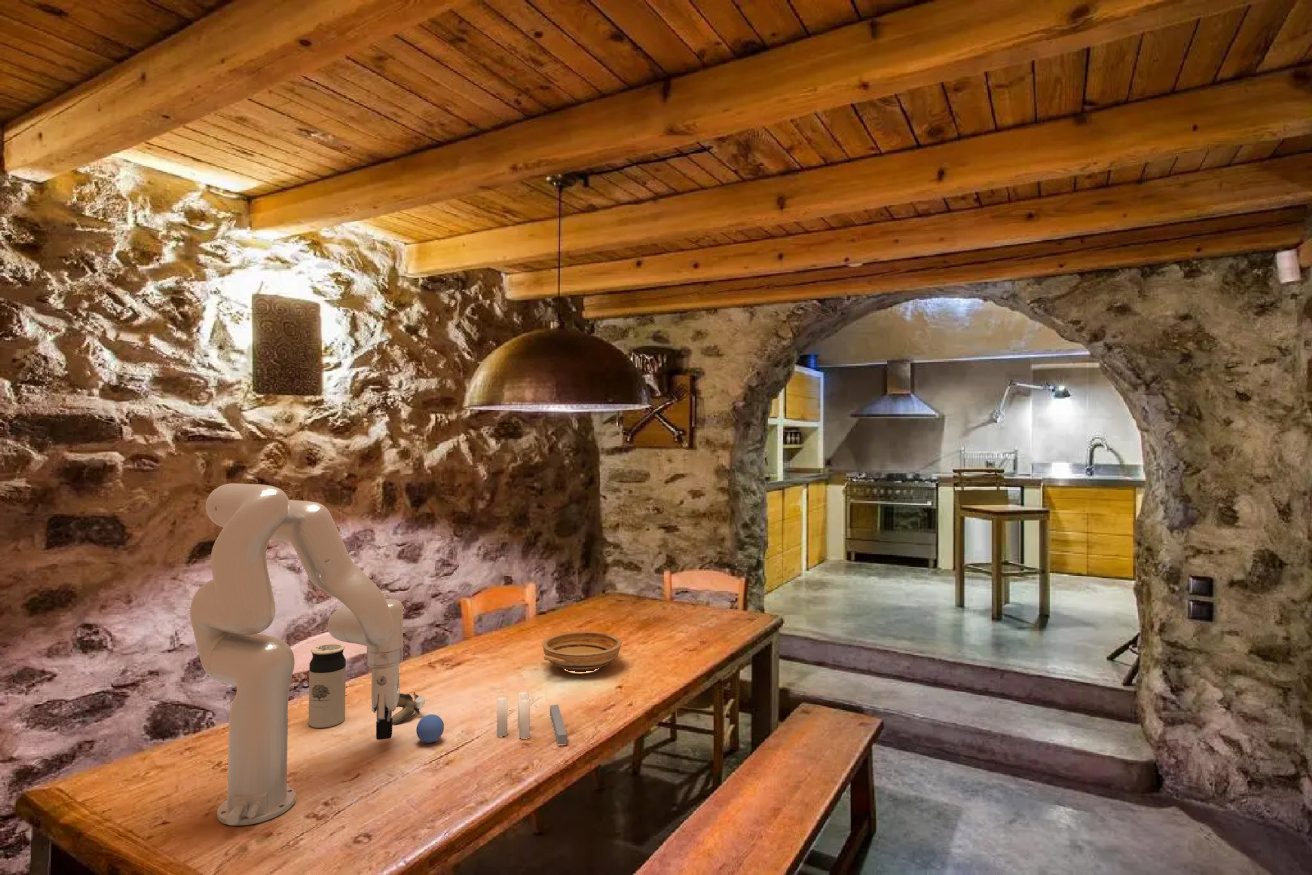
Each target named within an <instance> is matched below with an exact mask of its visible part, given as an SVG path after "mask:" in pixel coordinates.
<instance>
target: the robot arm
mask: <svg viewBox="0 0 1312 875" xmlns="http://www.w3.org/2000/svg"><path fill="white" fill-rule="evenodd" d="M205 511H206V515H207V517H208V518H209V519H210V521H212V523H214V524H215V525H216V526H219V527H220V528H222V530H221V531H220V532H219V534H218V536H217V538H216V539H215V542H214V543H213V546H212V548H211V554H210V566H211V573H212V579H210V580H209V581H207V582H205V583H203V584H202V585H200V587H199V588H198V589H197V590H196V592H195V593H194V595H193V598H192V599H191V603H190V608H189V615H190V622H191V623H190V624H191V627H192V631H193V635H194V639H195V644H196V648H197V651H198V656H199V661H200V664H201V666H202V668H203V670H204V672H205V673H206V674H207V675H208V676H209V677H210V678H211V679H213V680H215V681H217V682H220V683H225V684H228V685H231V686H233V687H236V692H235V696H234V699H233V701H232V703H231V705H230V709H229V713H228V714H229V715H228V753H227V754H228V756H227V757H228V758H227V761H228V762H227V763H228V764H227V798H226V799H225V800H224V801H223V802H222V803H221V804H219V806H218V808H217V811H216V812H217V813H216V815H217V816H216V818H217V819H218V821H219V822H220V823H222V824H224V825H229V826H238V827H239V826H248V825H249V826H250V825H254V824H255V825H256V824H259V823H263V822H267V821H269V820H271V819H275V818H276V817H279V816H280V815H283V813H286V812H287V811H288V810H290V809H291V808H292V806H293V805H294V804H295V802H296V800H297V792H296V790H295V789H294V788H293V787H290V786H288V742H289V740H288V738H289V737H288V736H289V735H288V732H289V730H288V729H289V699H290V697H289V696H290V690H291V689H290V687H291V682H292V678H293V674H294V669H295V655H294V652H293V650H292V648H291V647H290V645H289V644H288V643H287V642H286V641H283V640H281V639H279V638H277V637H274V636H269V635H266V634H265V635H264V634H261V633H262V632H263V631H266V630H267V629H268V628H269V627H270V626H271V625H272V623H273V621H274V620H275V616H276V602H275V598H274V592H273V588H272V584H271V582H272V581H271V579H270V575H269V569H268V563H267V548H268V545H269V543H270V540H272V541H279V542H287V543H288V542H289V543H290V544H291V545H292V547H293V549H294V550H295V552H296V555H297V556H298V559H299V560H300V563H301V565H302V566H303V569H304V572H305V573H306V575H307V577H308V579H309V581H310V582H311V583H312V584H313V585H314V586H315V587H317V588H318V589H320V590H321V591H323V592H325V593H326V594H328V595H329V596H332V597H333V598H335V599H337V600H338V601H340V603H342V604H344V606H342V607H340V608H338V609H337V610H335V611H334V612H333V613H332V614H331V615H330V616H329V619H328V620H327V631H328V633H329V635H330V636H331V637H332V638H334V639H336V640H337V641H340V642H345V643H349V644H355V645H356V644H357V645H360V646H365V647H366V666H367V667H369V668H371V693H370V694H371V698H370V699H371V711H372V713H374V714H375V713H376V722H375V723H376V724H375V728H376V730H375V733H376V734H375V740H377V741H380V740H389V739H391V738H392V736H393V725H392V718H391V717H393V716H392V715H393V712H394V711H395V710H396V709H397V708H398V707H397V704H398V701H399V696H400V694H401V692H400V669H399V668H400V667H399V666H400V663H403V656H404V654H403V651H404V650H403V647H404V646H403V644H404V642H403V640H404V637H403V636H404V634H403V633H404V632H403V630H404V629H403V628H404V625H403V624H404V608H403V607H404V606H403V603H402V602H401V600H399V599H396V598H395V599H394V598H386V597H385V595H384V594H383V592H382V590H380V589H379V587H378V586H377V584H376V583H374V582H373V580H372V579H371V578H369V576H368V575H367V574H366V573H365V572H364V571H363V570H362V569H361V568H360V567H359V566H357V564H355V563H354V561H353V560H352V558H351V556H350V554H349V552H348V550H347V547H346V545H345V542H344V540H343V538H342V536H341V533H340V532H339V530H338V527H337V525H336V523H335V521H334V519H333V517H332V514H331V512H330V511H329V509H328V507H326V506H325V505H323V504H321V503H320V502H316V501H310V500H309V501H308V500H298V499H297V500H295V499H289V497H288V495H287V493H286V492H285V491H283V490H282V489H281V488H278V487H276V486H272V485H268V484H258V483H250V484H249V483H237V482H236V483H234V482H233V483H231V482H230V483H226V484H222V485H220V486H218V487H216V488H215V489H214V490H212V491H211V492H210V494H209V495H208V497H207V499H206V502H205Z"/></svg>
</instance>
